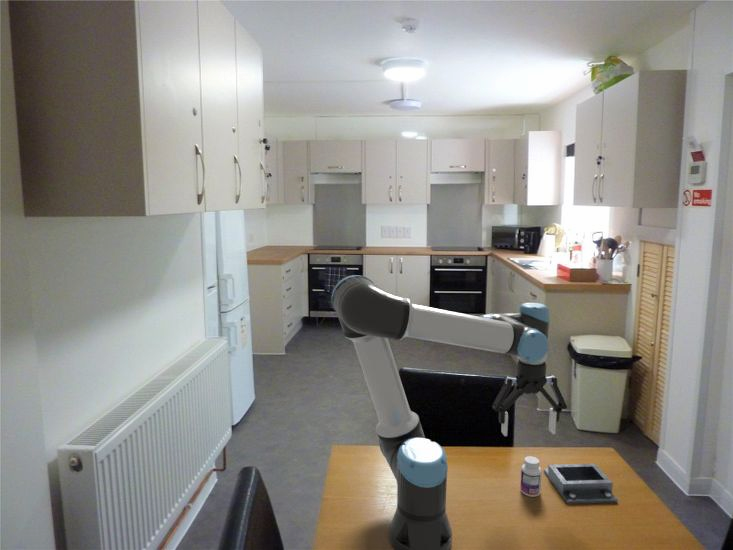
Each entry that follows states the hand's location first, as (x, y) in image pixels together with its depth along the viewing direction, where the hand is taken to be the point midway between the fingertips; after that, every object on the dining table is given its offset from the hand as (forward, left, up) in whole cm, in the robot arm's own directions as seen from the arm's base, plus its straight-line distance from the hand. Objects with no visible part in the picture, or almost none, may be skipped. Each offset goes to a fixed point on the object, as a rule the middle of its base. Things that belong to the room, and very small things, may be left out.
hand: (528, 433), depth 139 cm
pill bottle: (-1, -1, -17) cm, 17 cm away
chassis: (+1, -16, -17) cm, 24 cm away
